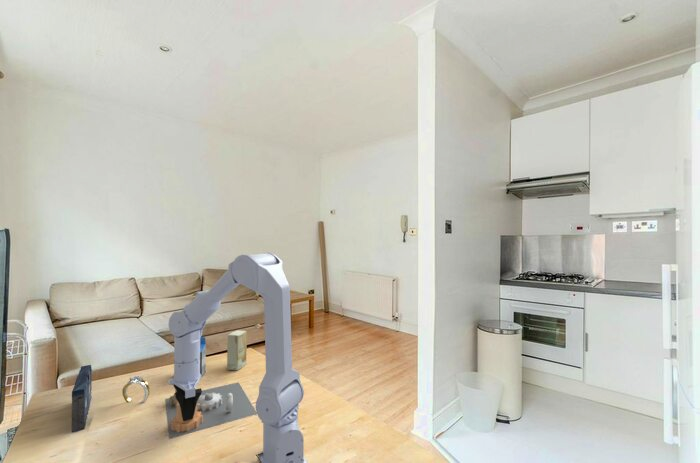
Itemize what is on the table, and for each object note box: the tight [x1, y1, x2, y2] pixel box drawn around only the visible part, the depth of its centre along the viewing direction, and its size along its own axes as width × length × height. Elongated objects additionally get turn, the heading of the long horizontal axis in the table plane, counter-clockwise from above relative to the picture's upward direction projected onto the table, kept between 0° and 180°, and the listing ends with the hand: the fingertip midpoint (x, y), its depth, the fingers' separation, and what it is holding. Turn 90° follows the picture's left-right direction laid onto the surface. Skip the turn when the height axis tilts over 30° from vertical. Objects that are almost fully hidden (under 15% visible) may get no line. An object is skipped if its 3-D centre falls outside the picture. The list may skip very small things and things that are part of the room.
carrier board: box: [164, 381, 257, 440], centre depth 89 cm, size 21×20×7 cm
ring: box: [121, 375, 151, 404], centre depth 91 cm, size 7×3×8 cm, turn 82°
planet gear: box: [171, 401, 203, 432], centre depth 80 cm, size 7×7×6 cm
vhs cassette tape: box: [71, 364, 93, 433], centre depth 87 cm, size 18×3×10 cm, turn 33°
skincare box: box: [226, 330, 248, 371], centre depth 118 cm, size 6×4×12 cm
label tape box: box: [200, 336, 207, 378], centre depth 111 cm, size 9×4×12 cm, turn 94°
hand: (187, 414), depth 80 cm, fingers closed on planet gear, 4 cm apart
